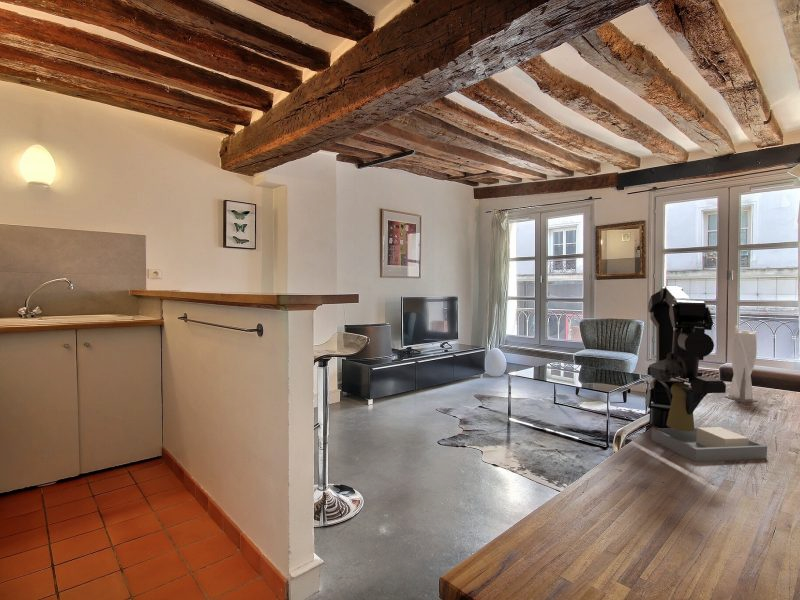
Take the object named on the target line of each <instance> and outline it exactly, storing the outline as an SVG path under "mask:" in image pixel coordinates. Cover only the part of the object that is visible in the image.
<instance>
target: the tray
mask: <svg viewBox="0 0 800 600" xmlns="http://www.w3.org/2000/svg"><path fill="white" fill-rule="evenodd" d="M703 427H704V426H694V431H681V430H677V429H673V428H658V427H655V428H654V427H653V428H651V435H650V437H651V438H650V441H653V442H655V443H657V444H659V445H661V446H663V447H664V448H666V449H669V450H670V451H673V452H675V453H677V454H679V455H681V456H682V457H685V458H686V459H689V460H690V461H693V462H694V463H704V462H706V463H707V462H709V463H710V462H726V461H727V462H729V461H745V460H746V461H747V460H766V459H767V456H768V455H767V454H768V445H764V444H762V443H760V442H757V441H754V440H752V439H749V441H748V446H732V447H709V448H707V447H705V446H703V445H701V444H698V443H696V437H697V428H703Z"/></svg>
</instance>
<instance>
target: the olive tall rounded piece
mask: <svg viewBox="0 0 800 600" xmlns="http://www.w3.org/2000/svg"><path fill="white" fill-rule="evenodd" d="M689 385H690V384H689V383H688V384H687V383H684V384H683V383H675V384H673V385H672V386H671V394H672V395H673V397H672V402H671V406H670V410H669V415H668V419H667V424H666V425H667V426H668V427H670V428H673V429H677V430H681V431H694V427H695V420H694V418H695V417H694V412H693V413H692V414H691V415H688V414H687V411H686V393H685V391H684V390H683V389H682V387H689Z"/></svg>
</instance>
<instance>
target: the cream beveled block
mask: <svg viewBox="0 0 800 600" xmlns="http://www.w3.org/2000/svg"><path fill="white" fill-rule="evenodd" d="M702 427H703V428H697V437H696V443H698V444H701V445H703V446H705V447H707V448H709V447H732V446H748V441H749V440H750V438H749V437H747V436H744V435H742V434H739V433H736V432H734V431H731V430H729V429H726V428H723V427H720V426H702Z"/></svg>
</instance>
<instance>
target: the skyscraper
mask: <svg viewBox="0 0 800 600" xmlns="http://www.w3.org/2000/svg"><path fill="white" fill-rule="evenodd" d="M734 331H735V332H734V335H733V341H732V345H731V346H732V347H731V358H730V359H731V366H732V373H733V376H732V379H731V384H730V387H729V391H728V395H725V396H724V398H726V399H730V400H733V401H735V402H736V401H737V402H740V403H756V402H758V400H756V399H753V398H754V397H753V395H754V394H753V386H752V376H751V374H752V373H753V370H754V368H755V364H756V360H757V353H758V352H757V350H758V346H757V345H758V344H757V333H756V331H755V330H752V332H751V331H750V330H748V329H747V330H746V329H745V330H744V329H740V330H739V326H738V325H735V327H734Z"/></svg>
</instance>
